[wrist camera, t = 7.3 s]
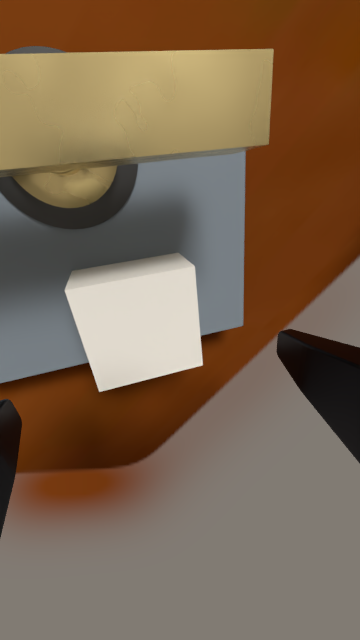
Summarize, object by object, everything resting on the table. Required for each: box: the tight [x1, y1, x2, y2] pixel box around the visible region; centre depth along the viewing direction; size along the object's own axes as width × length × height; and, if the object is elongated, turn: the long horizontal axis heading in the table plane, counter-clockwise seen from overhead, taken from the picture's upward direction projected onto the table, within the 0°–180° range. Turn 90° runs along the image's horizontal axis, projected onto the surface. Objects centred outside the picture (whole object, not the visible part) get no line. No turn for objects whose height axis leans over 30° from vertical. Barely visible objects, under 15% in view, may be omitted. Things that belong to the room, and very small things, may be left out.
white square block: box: [65, 253, 203, 392], centre depth 12 cm, size 5×5×3 cm
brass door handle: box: [0, 49, 274, 208], centre depth 7 cm, size 4×11×5 cm, turn 96°
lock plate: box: [0, 46, 245, 383], centre depth 12 cm, size 15×12×3 cm
